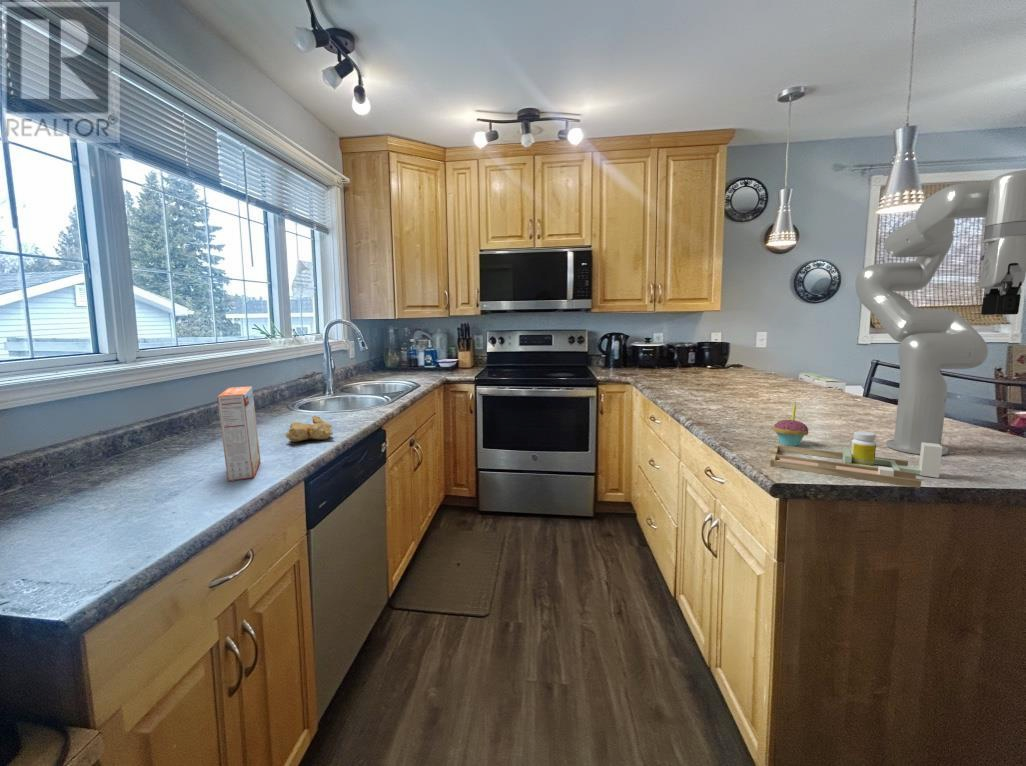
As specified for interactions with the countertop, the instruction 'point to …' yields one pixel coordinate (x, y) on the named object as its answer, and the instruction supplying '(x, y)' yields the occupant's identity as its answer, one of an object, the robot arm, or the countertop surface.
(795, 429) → the cupcake
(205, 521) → the countertop surface
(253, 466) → the cracker box
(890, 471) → the broken strip
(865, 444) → the supplement bottle
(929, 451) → the green handled square frame
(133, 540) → the countertop surface
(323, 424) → the ginger root
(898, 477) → the lane rails
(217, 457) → the countertop surface
